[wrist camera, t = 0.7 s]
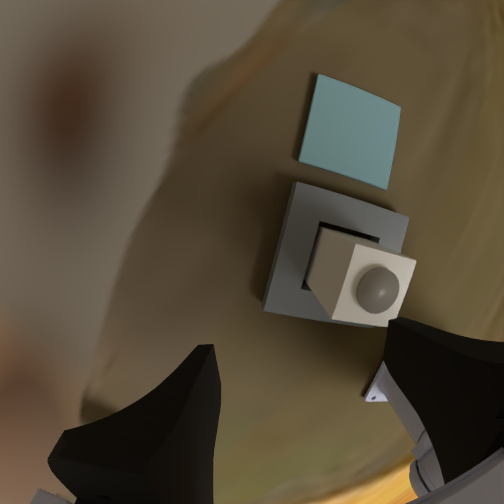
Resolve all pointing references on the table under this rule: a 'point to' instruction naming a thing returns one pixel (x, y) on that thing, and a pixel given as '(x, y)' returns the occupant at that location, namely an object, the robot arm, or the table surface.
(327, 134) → the mat
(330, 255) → the plug
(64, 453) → the robot arm
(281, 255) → the grey square frame
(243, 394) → the table surface
